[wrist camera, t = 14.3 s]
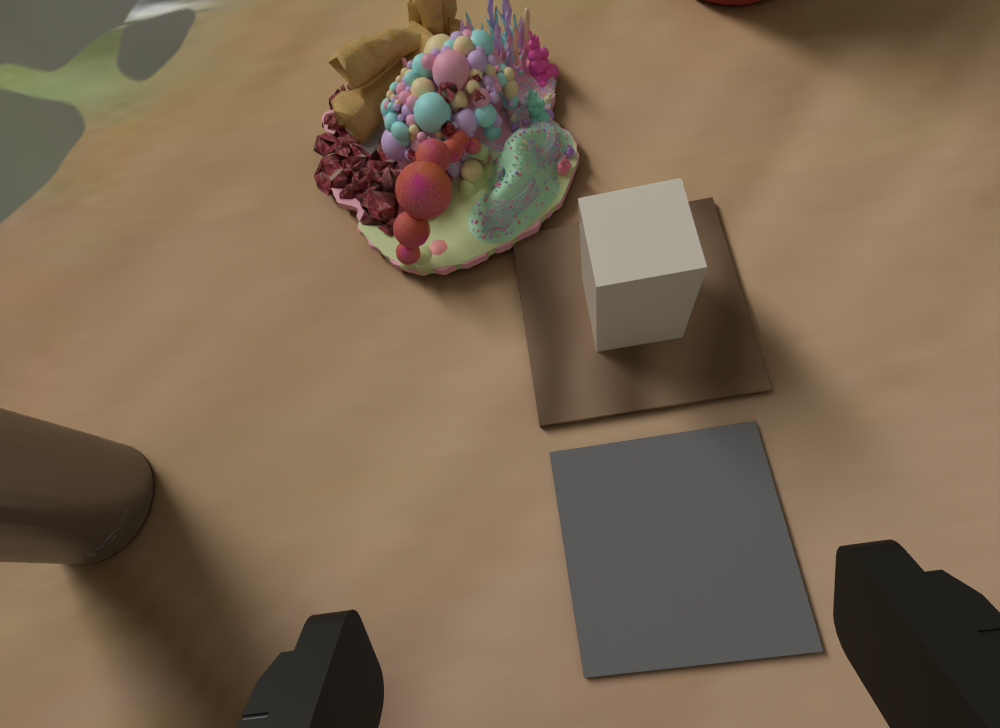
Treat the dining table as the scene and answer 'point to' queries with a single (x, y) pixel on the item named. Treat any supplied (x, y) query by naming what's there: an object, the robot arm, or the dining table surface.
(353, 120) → the pastel sphere sculpture
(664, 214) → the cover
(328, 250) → the dining table surface
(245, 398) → the dining table surface
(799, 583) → the mat
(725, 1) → the citrus juicer
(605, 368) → the board
